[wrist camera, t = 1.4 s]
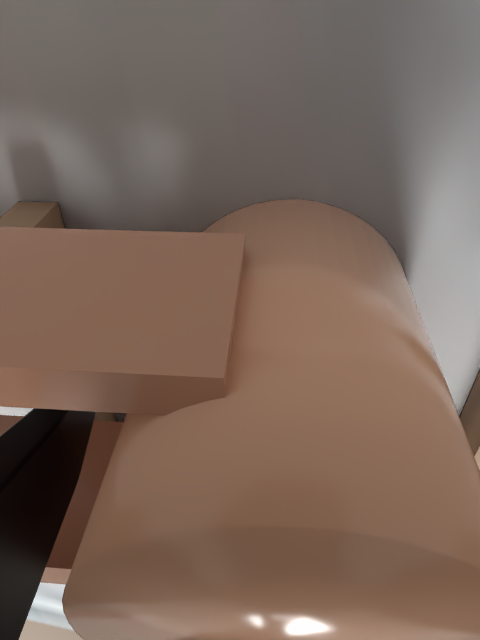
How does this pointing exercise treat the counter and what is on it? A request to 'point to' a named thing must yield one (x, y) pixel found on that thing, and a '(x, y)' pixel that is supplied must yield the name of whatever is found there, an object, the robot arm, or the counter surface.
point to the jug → (246, 431)
